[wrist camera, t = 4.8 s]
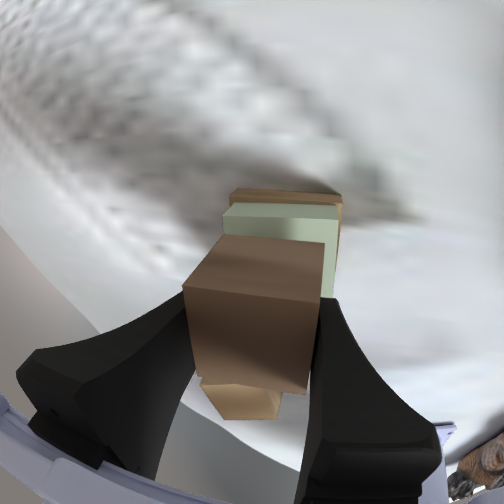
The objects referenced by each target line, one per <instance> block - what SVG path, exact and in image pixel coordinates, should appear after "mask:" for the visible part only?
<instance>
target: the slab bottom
mask: <svg viewBox="0 0 504 504" xmlns="http://www.w3.org/2000/svg"><path fill="white" fill-rule="evenodd" d="M234 202H241V203H286V204H314V205H336V206H337V209H338V219H339V221H338V238H337V252H336V262H337V254H338V246H339V237H340V227H341V218H342V207H343V202H342V197H341V195H334V194H322V193H309V192H295V191H279V190H261V189H239V188H237V189H236V190H235V191H234V192H233V193H232V194H231V195H230V207H231V206H232V205H233V203H234ZM335 270H336V265H335Z"/></svg>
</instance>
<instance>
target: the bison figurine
mask: <svg viewBox="0 0 504 504" xmlns="http://www.w3.org/2000/svg"><path fill="white" fill-rule="evenodd" d="M447 485H448V496H449V498H450V497H451V498H452V500H453V501H455V500H457V499H464V498H465V497H471V496H472V495H473V490H474V489H475V488H477V487H480V486H483V485H485V488H486V489H487V490H492V489H496V488H499V487H503V486H504V432H502V433H501V434H500V435H499V436H498V437H496V438H494V439H492V440H490V441H488V442H487V443H485V444H484V445H482V446H480V447H479V448H477V449H475V450H473V451H471V452H470V453H469V454H468V455H466V456H465V457H464V458H463V459H462V460H461V461H460V462H459V463H458V467H457V471H456V472H454V473H452V474H451V475H450V476H449V477H448V478H447Z"/></svg>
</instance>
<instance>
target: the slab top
mask: <svg viewBox="0 0 504 504" xmlns="http://www.w3.org/2000/svg"><path fill="white" fill-rule="evenodd" d="M222 221H223V232H224V234H231V235H242V236H254V237H265V238H277V239H288V240H298V241H309V242H320V243H325V251H324V264H323V276H322V287H321V297H325V298H333V288H334V277H335V265H336V252H337V238H338V221H339V219H338V209H337V206H336V205H314V204H286V203H241V202H234V203H233V205H232V206H231V207H230V208H229V209H228V210H227V211H226V212H225V213H224V214H223V215H222Z"/></svg>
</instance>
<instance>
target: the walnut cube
mask: <svg viewBox="0 0 504 504" xmlns="http://www.w3.org/2000/svg"><path fill="white" fill-rule="evenodd" d="M324 251H325V243H320V242H309V241H298V240H288V239H277V238H265V237H254V236H242V235H231V234H224V235H223V236H222V237H221V238H220V240H219V241H218V242H217V243H216V244H215V246H214V247H213V248H212V249H211V250H210V252H209V253H208V254H207V255H206V257H205V258H204V259H203V260H202V261H201V263H200V264H199V265H198V266H197V267H196V269H195V270H194V271H193V272H192V274H191V275H190V276H189V277H188V279H187V280H186V281H185V282H184V284H183V285H182V288H183V295H184V302H185V308H186V315H187V321H188V327H189V333H190V339H191V345H192V351H193V356H194V362H195V367H196V372H197V376H200V377H204V378H209V379H214V380H218V381H223V382H228V383H233V384H239V385H244V386H249V387H255V388H261V389H267V390H274V391H281V392H288V393H295V394H303V395H306V389H307V384H308V378H309V372H310V366H311V360H312V354H313V348H314V341H315V335H316V328H317V321H318V314H319V306H320V297H321V287H322V276H323V264H324Z"/></svg>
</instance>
